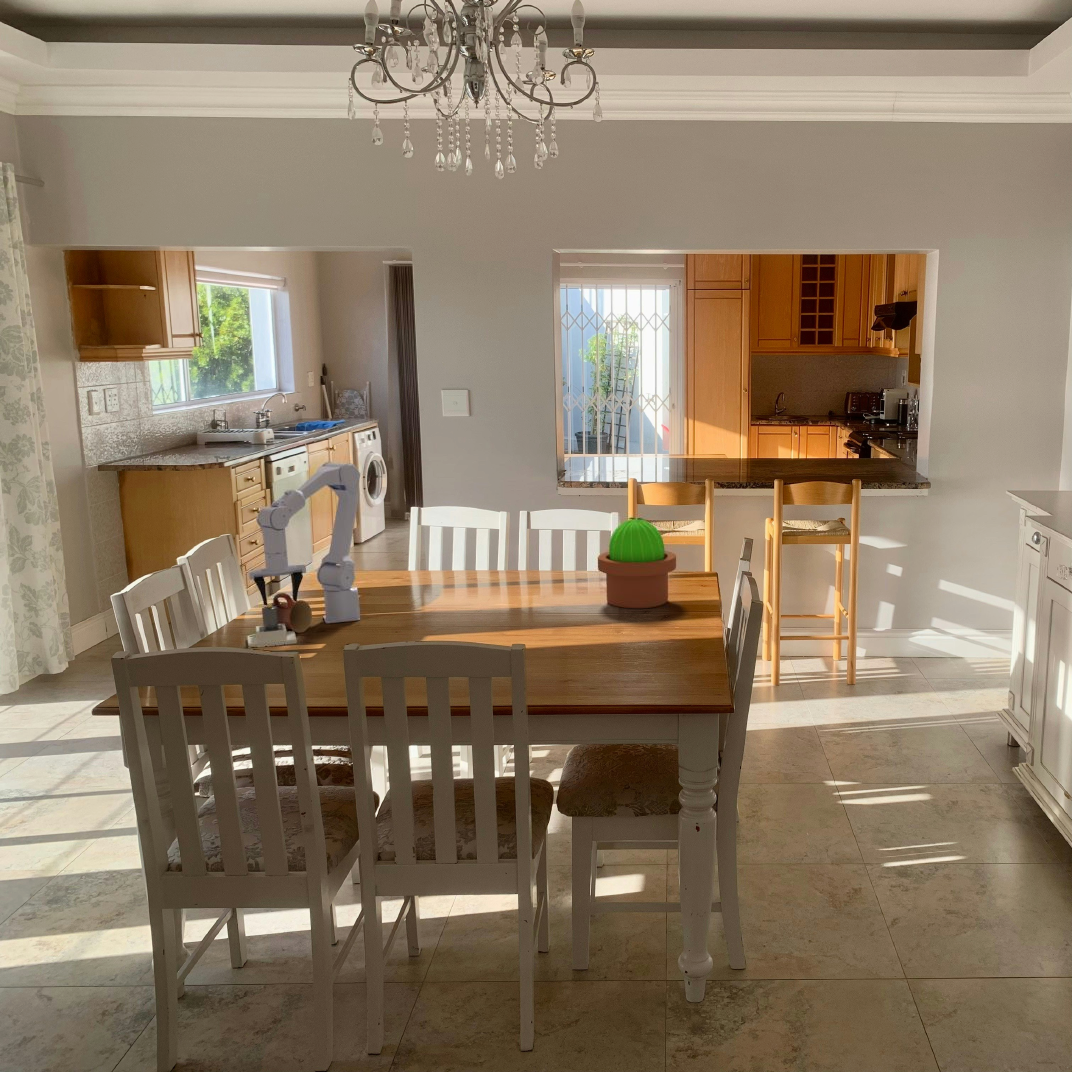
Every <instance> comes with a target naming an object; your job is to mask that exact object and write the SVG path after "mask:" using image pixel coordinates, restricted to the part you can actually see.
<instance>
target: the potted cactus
mask: <svg viewBox="0 0 1072 1072" xmlns="http://www.w3.org/2000/svg"><path fill="white" fill-rule="evenodd" d="M663 539H664V536H662V535H661V531H660V530H659V529H657V527H656V526H655V525H653V524H652V523H651V521H649V522H648V521H647V520H645V518H641V517H637V518H635V517H633V516H631V517H628V520H627V519H625V520H624V522H621V523H620V524H619V525H617V527H616V528H615V529H614V530H613V532H612V534H611V535H610V539H609V542H608V545H607V547H608V551H606V552H602V553H601V554H599V555H598V556H597V570H598V571H599V572H600V573H603V574H605V576H606V583H605V584H606V601H607V603H608V604H610V605H611V606H615V607H617V608H623V609H648V608H649V609H650V608H651V609H652V608H655V607H659V606H663V605H664V604H666V603H667V602H668V600H669V573H671V572H674V571H675V570H676V569H677V554H676V553H674V552H671V551H667V550H666V549H665V544H664V540H663Z"/></svg>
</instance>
